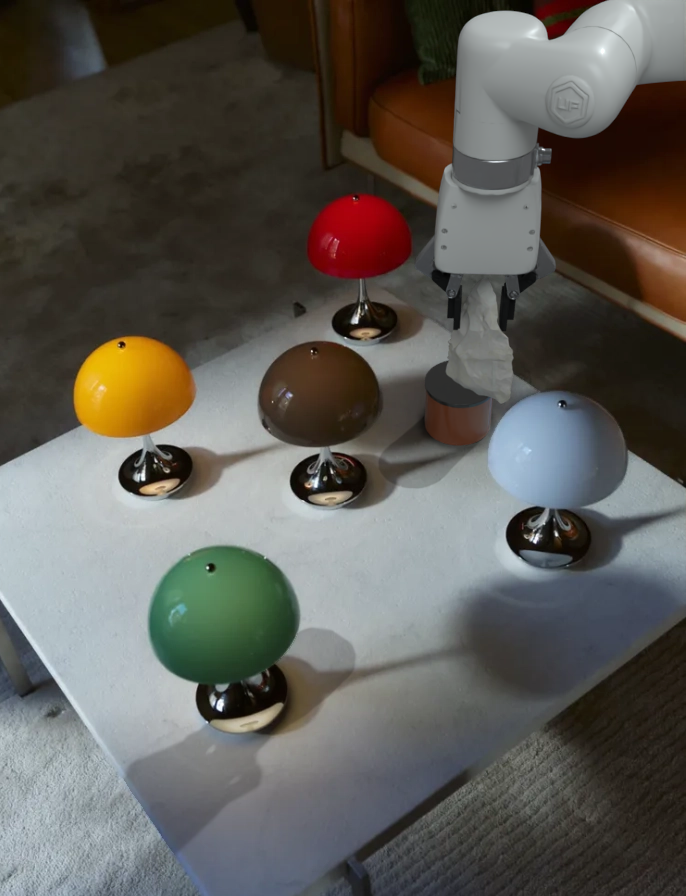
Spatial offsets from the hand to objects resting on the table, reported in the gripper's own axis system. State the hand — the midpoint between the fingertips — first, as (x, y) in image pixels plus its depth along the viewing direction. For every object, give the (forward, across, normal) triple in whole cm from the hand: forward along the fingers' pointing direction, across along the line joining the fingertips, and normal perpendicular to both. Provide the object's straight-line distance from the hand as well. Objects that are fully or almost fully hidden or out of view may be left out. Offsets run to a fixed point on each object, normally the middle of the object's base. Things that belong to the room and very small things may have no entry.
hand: (479, 321), depth 101 cm
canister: (+29, +1, -16) cm, 34 cm away
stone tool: (+10, 0, 0) cm, 10 cm away
